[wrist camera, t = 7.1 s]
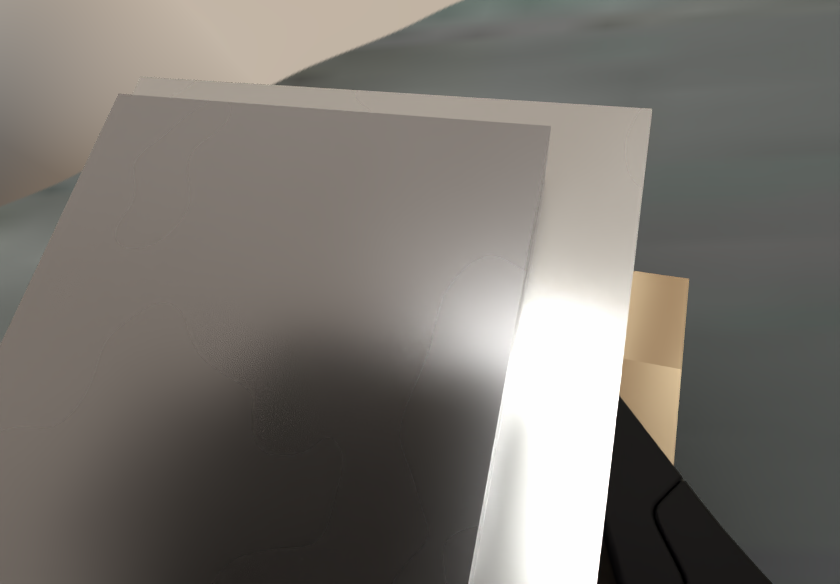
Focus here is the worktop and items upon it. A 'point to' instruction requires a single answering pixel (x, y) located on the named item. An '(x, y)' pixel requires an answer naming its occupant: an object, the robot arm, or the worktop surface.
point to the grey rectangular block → (324, 342)
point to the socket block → (655, 354)
